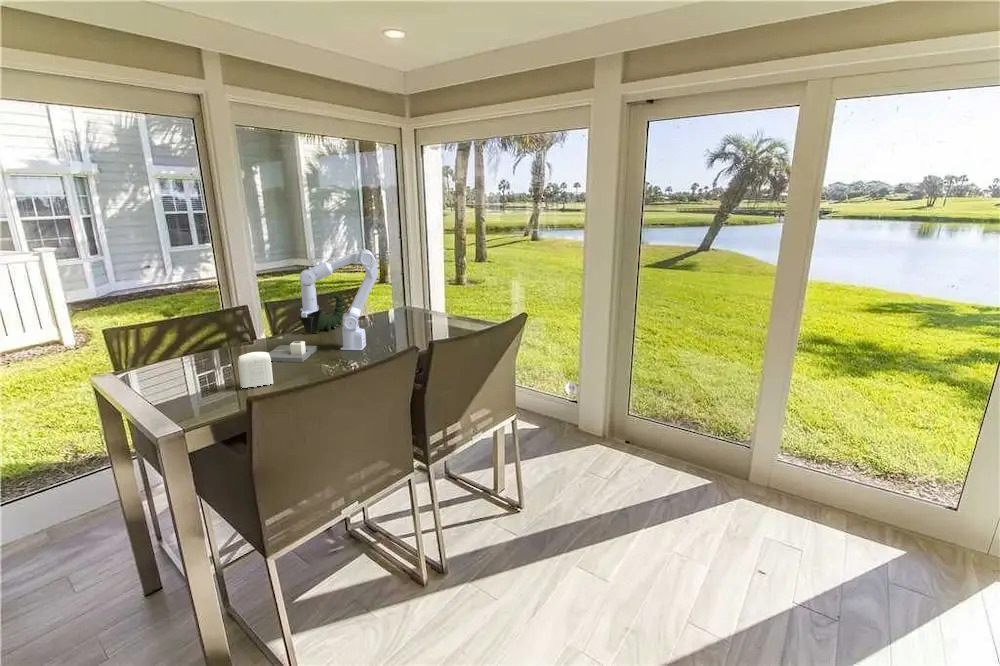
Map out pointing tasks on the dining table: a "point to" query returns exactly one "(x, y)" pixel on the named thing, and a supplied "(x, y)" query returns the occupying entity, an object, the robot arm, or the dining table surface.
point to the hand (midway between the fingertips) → (312, 329)
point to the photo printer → (255, 369)
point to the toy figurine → (332, 320)
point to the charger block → (298, 348)
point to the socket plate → (285, 355)
